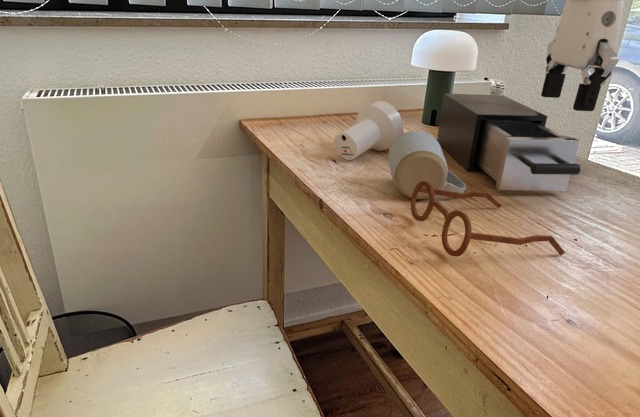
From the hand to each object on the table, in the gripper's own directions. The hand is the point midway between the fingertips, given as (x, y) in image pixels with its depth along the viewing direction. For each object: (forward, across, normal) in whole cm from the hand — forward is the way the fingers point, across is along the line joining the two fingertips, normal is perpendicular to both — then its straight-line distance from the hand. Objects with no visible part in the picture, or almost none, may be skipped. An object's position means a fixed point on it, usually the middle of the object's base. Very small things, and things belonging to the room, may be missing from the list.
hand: (565, 103), depth 80 cm
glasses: (+10, -27, +24) cm, 37 cm away
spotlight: (+11, +3, +32) cm, 33 cm away
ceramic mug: (+10, -14, +26) cm, 32 cm away
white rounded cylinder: (+10, 0, 0) cm, 10 cm away
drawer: (+9, -11, +12) cm, 18 cm away
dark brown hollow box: (+10, +2, +12) cm, 15 cm away
